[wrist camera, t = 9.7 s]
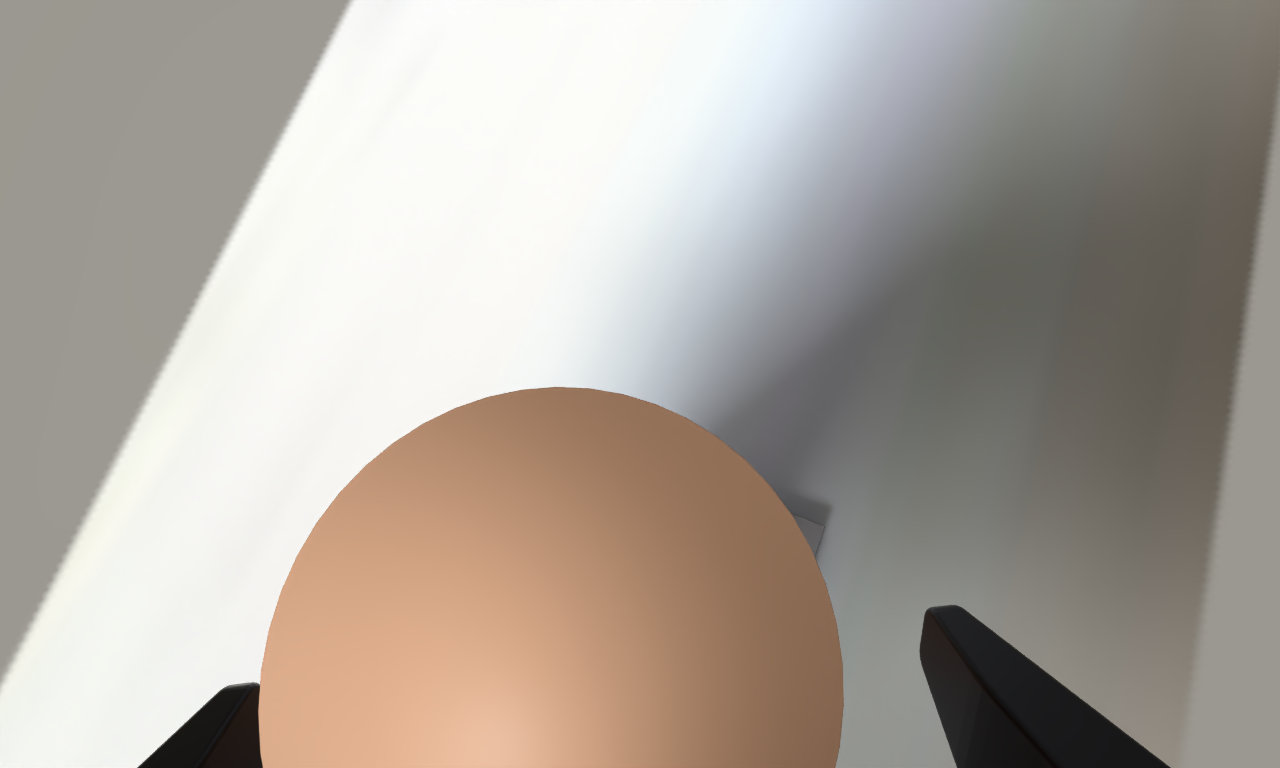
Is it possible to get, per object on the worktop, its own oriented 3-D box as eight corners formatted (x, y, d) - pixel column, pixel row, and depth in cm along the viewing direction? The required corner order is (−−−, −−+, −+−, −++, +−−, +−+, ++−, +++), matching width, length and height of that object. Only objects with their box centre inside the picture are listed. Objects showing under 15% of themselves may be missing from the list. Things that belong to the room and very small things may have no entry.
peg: (727, 697, 17) (909, 965, 5) (545, 725, 17) (253, 1072, 5) (696, 514, 19) (777, 352, 6) (527, 539, 18) (260, 428, 6)
